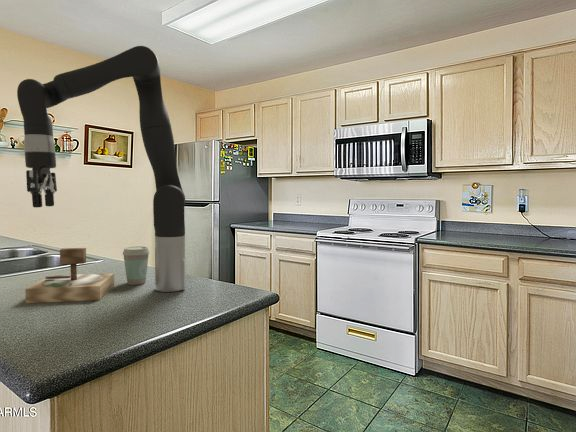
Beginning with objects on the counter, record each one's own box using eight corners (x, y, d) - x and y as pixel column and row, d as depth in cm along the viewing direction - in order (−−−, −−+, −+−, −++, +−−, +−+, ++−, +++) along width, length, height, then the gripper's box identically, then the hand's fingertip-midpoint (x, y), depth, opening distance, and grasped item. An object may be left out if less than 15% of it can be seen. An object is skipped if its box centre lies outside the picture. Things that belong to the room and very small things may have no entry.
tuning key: (86, 278, 115) (85, 247, 115) (84, 279, 113) (83, 249, 112) (47, 279, 113) (46, 248, 112) (44, 281, 111) (43, 249, 110)
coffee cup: (140, 286, 123) (140, 250, 122) (117, 284, 124) (116, 249, 124) (154, 280, 131) (154, 246, 130) (133, 279, 133) (132, 245, 132)
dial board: (114, 285, 124) (114, 272, 124) (100, 299, 107) (99, 284, 107) (50, 287, 120) (50, 274, 120) (25, 303, 103) (25, 287, 103)
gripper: (44, 149, 103) (48, 207, 105) (63, 153, 117) (66, 205, 118) (13, 149, 102) (17, 208, 103) (36, 154, 116) (40, 206, 117)
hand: (44, 206), depth 111 cm, fingers open, 8 cm apart
